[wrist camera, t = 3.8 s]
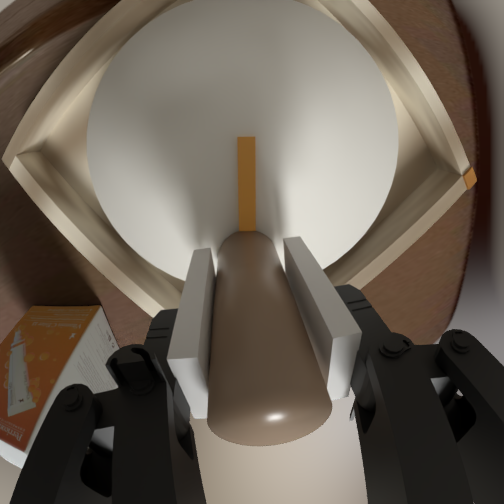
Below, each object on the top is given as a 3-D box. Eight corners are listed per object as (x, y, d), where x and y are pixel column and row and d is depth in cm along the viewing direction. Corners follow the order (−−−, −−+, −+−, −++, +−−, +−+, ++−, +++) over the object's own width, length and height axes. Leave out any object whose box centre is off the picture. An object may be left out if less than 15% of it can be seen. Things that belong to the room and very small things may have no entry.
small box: (102, 302, 18) (24, 453, 6) (128, 363, 20) (90, 499, 8) (31, 303, 17) (-46, 410, 6) (59, 357, 20) (9, 463, 8)
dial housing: (34, 151, 13) (-1, 159, 10) (258, -51, 9) (265, -81, 5) (233, 341, 20) (235, 378, 16) (442, 169, 15) (476, 180, 12)
